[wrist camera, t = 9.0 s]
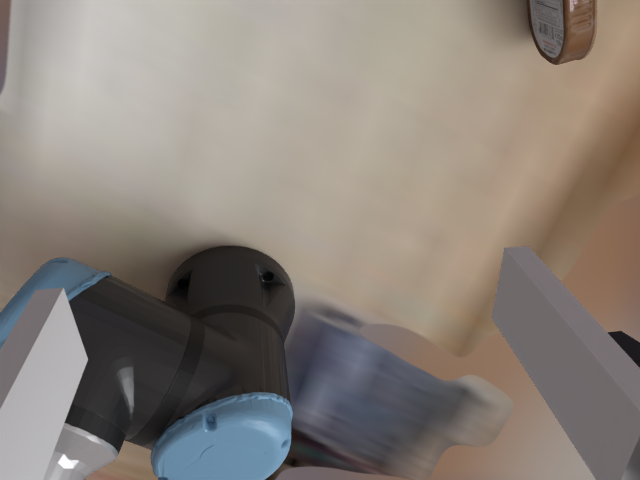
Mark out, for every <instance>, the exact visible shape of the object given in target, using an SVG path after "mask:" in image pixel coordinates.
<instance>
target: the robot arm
mask: <svg viewBox="0 0 640 480" xmlns="http://www.w3.org/2000/svg"><path fill="white" fill-rule="evenodd" d="M294 313H295V299H294V291H293V286H292V283H291V281H290V278H289V276H288V275H287V273H286V272H285V270H284V269H283V268H282V267H281V266H280V265H279V264H278V263H277V262H276V261H275V260H273V259H272V258H270V257H269V256H267V255H265V254H263V253H261V252H258V251H256V250H252V249H249V248H244V247H235V246H227V247H217V248H213V249H209V250H206V251H203V252H200V253H198V254H196V255H194V256H192V257H191V258H189V259H188V260H187V261H185V262H184V263H183V264H182V265H181V266H180V267H179V268H178V269H177V270H176V272H175V273H174V274H173V276H172V278H171V280H170V282H169V285H168V289H167V294H166V298H165V302H163V301H161V300H159V299H157V298H155V297H153V296H151V295H149V294H147V293H145V292H143V291H141V290H139V289H137V288H135V287H133V286H131V285H129V284H127V283H125V282H123V281H121V280H119V279H117V278H115V277H113V276H111V273H109V272H107V271H103V272H101V271H99V270H96V269H94V268H92V267H90V266H87V265H85V264H83V263H80V262H78V261H76V260H73V259H70V258H56V259H53V260H50V261H48V262H46V263H45V264H44V265H43V266H41V267H40V268H39V269H38V270H37V271H36V272H35V273H34V275H33V276H32V277H31V278H30V279H29V280H28V281H27V282H26V283H25V284H24V285H23V287H22V288H21V289H20V290H19V291H18V292H17V293H16V295H15V296H14V297H13V298H12V299H11V300H10V302H9V303H8V304H7V305H6V306H5V308H4V309H3V310H2V311H1V312H0V480H85V479H86V478H87V477H88V476H89V475H90V474H92V473H93V472H95V471H96V470H98V469H100V468H102V467H104V466H105V465H107V464H109V463H111V462H113V461H115V460H116V458H117V456H118V454H119V451H120V449H121V446H122V444H123V442H124V440H125V441H129V442H131V443H134V444H137V445H140V446H142V447H145V448H148V449H150V450H152V452H151V458H150V459H151V464H152V467H153V472H154V474H155V475H156V477H158V480H265V479H266V478H267V477H269V476H270V475H271V474H272V473H273V472H274V471H276V470H277V469H278V468H279V466H280V465H281V464H282V462H283V461H284V459H285V458H286V456H287V454H288V451H289V448H290V444H291V420H292V413H293V412H292V407H291V402H290V393H289V385H288V376H287V367H286V359H285V350H284V342H285V340H286V337H287V334H288V332H289V329H290V327H291V324H292V321H293V318H294ZM492 319H493V321H494V322H495V324H496V325H497V327H498V328H499V330H500V332H501V333H502V335H503V336H504V337H505V339H506V341H507V342H508V344H509V345H510V347H511V349H512V350H513V352H514V353H515V355H516V356H517V358H518V359H519V361H520V363H521V364H522V366H523V367H524V369H525V370H526V372H527V373H528V375H529V377H530V378H531V380H532V381H533V383H534V384H535V386H536V387H537V389H538V390H539V392H540V394H541V395H542V396H543V398H544V400H545V401H546V403H547V404H548V406H549V408H550V409H551V411H552V412H553V414H554V415H555V417H556V418H557V420H558V421H559V423H560V425H561V426H562V428H563V429H564V431H565V432H566V434H567V435H568V437H569V439H570V440H571V442H572V443H573V445H574V446H575V448H576V449H577V451H578V453H579V454H580V456H581V457H582V459H583V460H584V461H585V463H586V465H587V466H588V468H589V470H590V471H591V473H592V474H593V476H594V477H595V479H596V480H640V343H639V342H638V341H636V340H635V339H633V338H631V337H630V336H628V335H627V334H625V333H623V332H622V331H617V332H608V333H607V332H606V331H605V330H604V328H603V327H602V326H601V325H600V324H599V323H598V322H597V321H596V320H595V319H594V318H593V316H592V315H590V313H589V312H588V311H587V310H586V309H585V308H584V307H583V305H582V304H581V303H580V302H579V301H578V300H577V299H576V298H575V297H574V296H573V295H572V293H571V292H570V291H569V290H568V289H567V288H566V287H565V286H564V285H563V284H562V282H561V281H560V280H559V279H558V278H557V277H556V276H555V275H554V274H553V273H552V271H551V270H550V269H549V268H548V267H547V266H546V265H545V264H544V263H543V262H542V261H541V259H540V258H539V257H538V256H537V255H536V254H535V253H534V252H533V251H532V250H531V248H530V247H529V246H521V247H510V248H504V253H503V259H502V264H501V270H500V275H499V281H498V286H497V292H496V298H495V303H494V309H493V314H492Z"/></svg>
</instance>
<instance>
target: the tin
mask: <svg viewBox="0 0 640 480" xmlns="http://www.w3.org/2000/svg"><path fill="white" fill-rule="evenodd" d="M528 14H529V23H530V28H531V33H532V36H533V40H534V43H535V45H536V47H537V49H538V51H539V53H540V54H541V56H543V57H544V58H545V59H546V60H547V61H549V62H550V63H552V64H555V65H559V64H563V63H566V62H570V61H573V60H581V59H583V58H585V57H586V56H587V55H588V54H589V53H590V51H591V49H592V47H593V44H594V41H595V37H596V30H597V0H528Z"/></svg>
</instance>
